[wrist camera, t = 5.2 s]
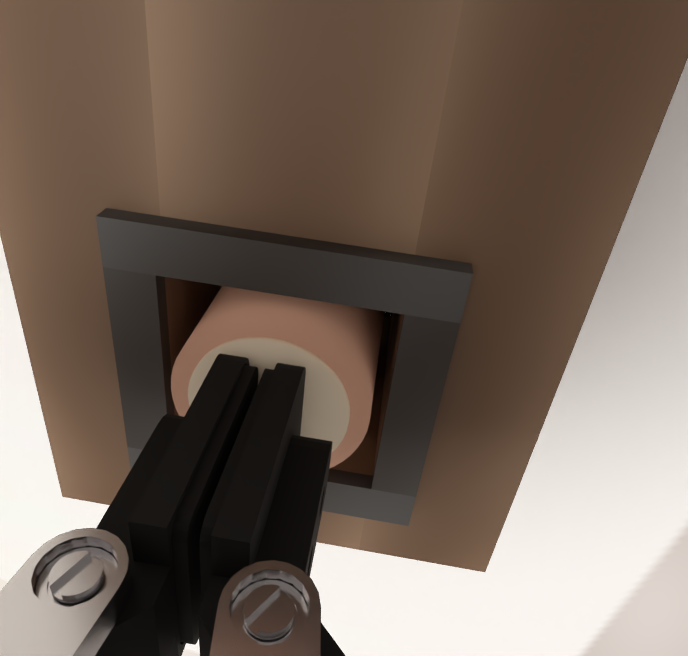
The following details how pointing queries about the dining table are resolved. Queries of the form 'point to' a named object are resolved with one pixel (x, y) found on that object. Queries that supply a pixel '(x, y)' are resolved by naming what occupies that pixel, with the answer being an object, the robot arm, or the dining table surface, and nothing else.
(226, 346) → the peg
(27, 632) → the robot arm
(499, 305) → the walnut block
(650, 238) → the dining table surface
